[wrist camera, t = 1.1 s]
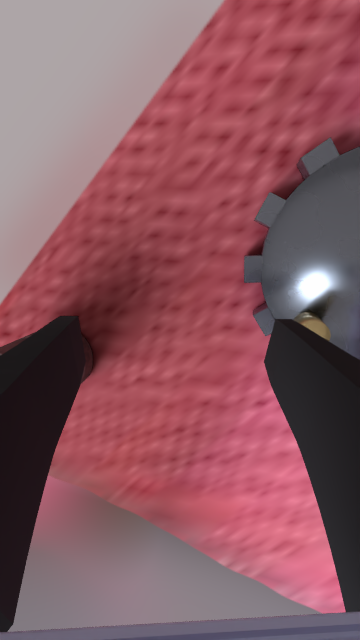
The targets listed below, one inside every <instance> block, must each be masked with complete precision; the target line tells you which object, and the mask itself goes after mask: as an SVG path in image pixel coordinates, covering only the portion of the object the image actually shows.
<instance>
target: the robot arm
mask: <svg viewBox="0 0 360 640" xmlns="http://www.w3.org/2000/svg"><path fill="white" fill-rule="evenodd" d="M85 363H86V359H85V353H84V347H83V341H82V336H81V330H80V324H79V318H78V316H60V317H58V318H56V319H55V320H53V321H52V322H50V323H49V324H47V325H46V326H44V327H43V328H41V329H40V330H38V331H37V332H36V333H34V334H33V335H31V336H30V337H28V338H27V339H25V340H24V341H22V342H21V343H19V344H18V345H16V346H15V347H13V348H12V349H10V350H8V351H7V352H5V353H3V354H2V355H0V640H360V360H359V359H358V358H356V357H354V356H352V355H351V354H349V353H347V352H346V351H344V350H342V349H341V348H339V347H337V346H336V345H334V344H332V343H331V342H329V341H328V340H326V339H324V338H323V337H321V336H320V335H318V334H316V333H315V332H313V331H312V330H310V329H308V328H307V327H305V326H303V325H302V324H300V323H298V322H296V321H294V320H292V319H275V322H274V326H273V330H272V333H271V337H270V341H269V345H268V349H267V352H266V356H265V360H264V363H265V366H266V370H267V374H268V377H269V380H270V383H271V386H272V388H273V391H274V393H275V395H276V397H277V400H278V402H279V404H280V406H281V408H282V410H283V413H284V415H285V417H286V419H287V421H288V423H289V426H290V428H291V430H292V432H293V434H294V436H295V439H296V441H297V444H298V446H299V448H300V451H301V454H302V457H303V460H304V463H305V466H306V468H307V471H308V474H309V477H310V480H311V484H312V487H313V490H314V493H315V496H316V500H317V503H318V506H319V509H320V513H321V516H322V520H323V523H324V527H325V530H326V534H327V537H328V541H329V545H330V548H331V552H332V556H333V560H334V564H335V568H336V572H337V576H338V580H339V584H340V588H341V592H342V597H343V601H344V606H345V610H346V612H345V613H327V614H311V615H293V616H276V617H260V618H259V617H258V618H243V619H242V618H241V619H224V620H207V621H189V622H173V623H154V624H137V625H121V626H103V627H87V628H68V629H51V630H35V631H17V632H7V631H8V630H9V629H10V627H11V626H12V625H13V622H14V617H15V612H16V607H17V602H18V598H19V593H20V588H21V584H22V579H23V574H24V570H25V565H26V560H27V556H28V552H29V547H30V543H31V539H32V535H33V530H34V526H35V522H36V518H37V513H38V510H39V506H40V502H41V498H42V494H43V491H44V487H45V483H46V480H47V476H48V473H49V469H50V465H51V462H52V458H53V455H54V452H55V449H56V446H57V443H58V440H59V438H60V435H61V433H62V430H63V428H64V425H65V423H66V420H67V418H68V415H69V413H70V410H71V407H72V405H73V402H74V400H75V397H76V395H77V392H78V389H79V387H80V384H81V380H82V376H83V371H84V367H85Z"/></svg>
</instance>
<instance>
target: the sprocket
mask: <svg viewBox="0 0 360 640" xmlns="http://www.w3.org/2000/svg"><path fill="white" fill-rule="evenodd" d="M297 167H298V169H299V171H300V172H301V174H302V176H303V178H304V181H303V182H302V183H301V184H300V185H299V186H298V187H297V188H296V189H295V190H294V191H293V192H292V194H291V195H290V196H289V197H288V198H287V199H286V200H284V199H283V198H281V197H279V196H277V195H275V194H273V193H271V192H269V194H268V196H267V198H266V200H265V201H264V203H263V205H262V207H261V209H260V210H259V212H258V214H257V216H256V218H255V220H254V221H256V222H257V223H259V224H261V225H263V226H265V227H267V228H269V229H268V231H267V234H266V237H265V240H264V243H263V248H262V252H261V255H245V256H244V283H252V282H261V285H262V291H263V294H264V297H265V300H266V303H265V304H263V305H261V306H260V307H258V308H256V309H254V310H253V316H254V318H255V319H256V321H257V323H258V324H259V326H260V328H261V329H262V331H263V333H264V334H265V336H267V335H269V334H271V333H272V330H273V326H274V322H275V319H292V320H294V321H296V322H298V323H300V324H302V325H303V326H305V327H307V328H308V329H310V330H312V331H313V332H315V333H316V334H318V335H320V336H321V337H323V338H324V339H326V340H328V341H329V342H331V343H332V344H334V345H336V346H337V347H339V348H341V349H342V350H344V351H346V352H347V353H349V354H351V355H352V356H354V357H356V358H358V359H359V360H360V147H357V148H355V149H353V150H351V151H348V152H346V153H344V154H342V155H339V153H338V151H337V149H336V147H335V145H334V143H333V141H332V139H331V137H330V138H329V139H327V140H326V141H325V142H323V143H322V144H320V145H319V146H317V147H316V148H314V149H313V150H312V151H310V152H309V153H307V154H306V155H304V156H303V157H302V158H300V160H299V162H298V163H297Z"/></svg>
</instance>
